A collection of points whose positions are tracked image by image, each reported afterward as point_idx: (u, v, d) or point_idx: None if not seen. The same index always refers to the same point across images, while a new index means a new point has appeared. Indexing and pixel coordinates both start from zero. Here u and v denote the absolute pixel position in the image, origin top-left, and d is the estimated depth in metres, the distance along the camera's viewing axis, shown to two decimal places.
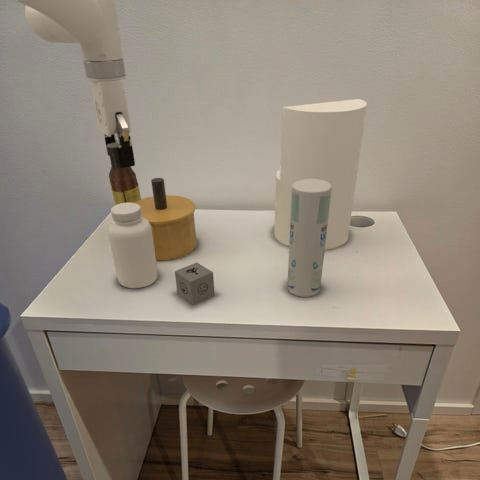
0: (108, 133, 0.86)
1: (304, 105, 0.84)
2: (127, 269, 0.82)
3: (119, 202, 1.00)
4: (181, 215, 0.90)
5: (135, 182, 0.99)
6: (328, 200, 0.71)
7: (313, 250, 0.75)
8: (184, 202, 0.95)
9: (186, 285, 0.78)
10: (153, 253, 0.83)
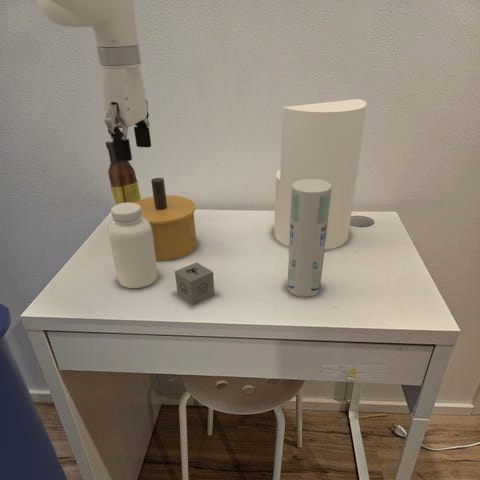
0: None
1: (304, 105, 0.84)
2: (127, 269, 0.82)
3: (118, 198, 1.00)
4: (181, 215, 0.90)
5: (134, 178, 1.00)
6: (328, 200, 0.71)
7: (313, 250, 0.75)
8: (184, 202, 0.95)
9: (186, 285, 0.78)
10: (153, 253, 0.83)
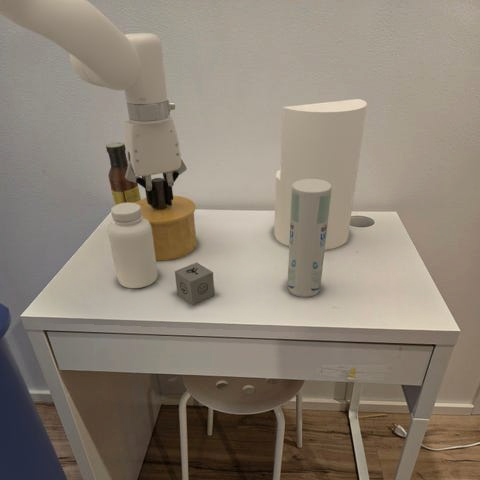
0: None
1: (304, 105, 0.84)
2: (127, 269, 0.82)
3: (119, 202, 1.00)
4: (181, 215, 0.90)
5: None
6: (328, 200, 0.71)
7: (313, 250, 0.75)
8: (184, 202, 0.95)
9: (186, 285, 0.78)
10: (153, 253, 0.83)
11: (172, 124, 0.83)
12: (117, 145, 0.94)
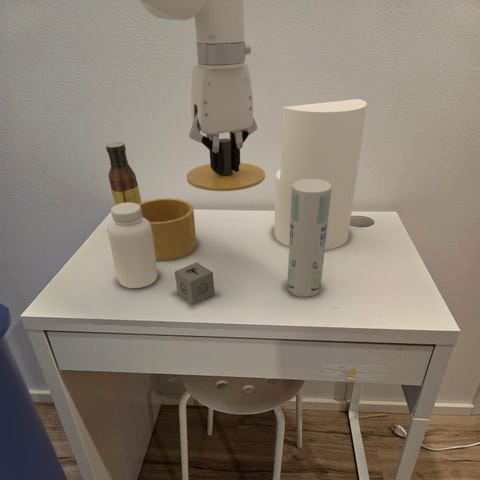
0: None
1: (304, 105, 0.84)
2: (127, 269, 0.82)
3: (119, 202, 1.00)
4: (252, 181, 0.77)
5: (135, 182, 0.99)
6: (328, 200, 0.71)
7: (313, 250, 0.75)
8: (250, 168, 0.83)
9: (186, 285, 0.78)
10: (153, 253, 0.83)
11: (247, 71, 0.71)
12: (117, 145, 0.94)
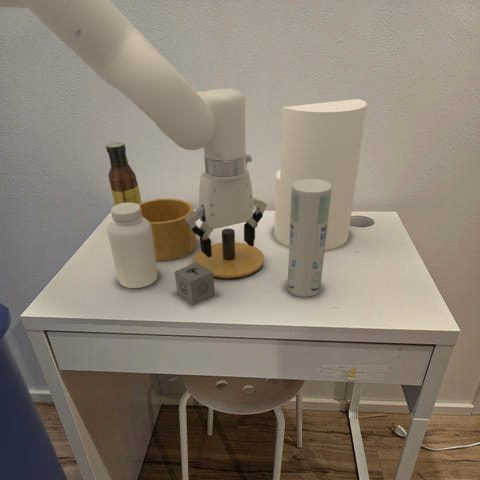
0: None
1: (304, 105, 0.84)
2: (127, 269, 0.82)
3: (119, 202, 1.00)
4: (252, 267, 0.88)
5: (135, 182, 0.99)
6: (328, 200, 0.71)
7: (313, 250, 0.75)
8: (251, 251, 0.93)
9: (186, 285, 0.78)
10: (153, 253, 0.83)
11: (248, 177, 0.81)
12: (117, 145, 0.94)
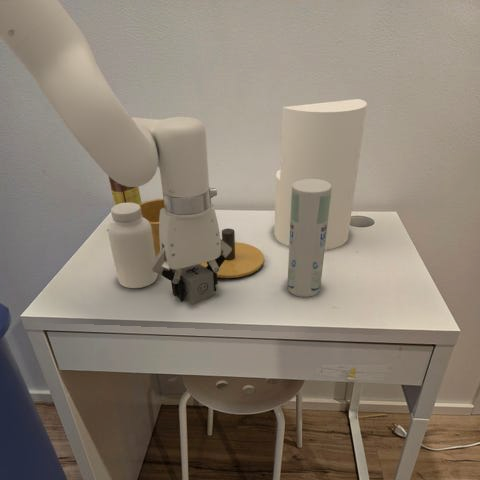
0: None
1: (304, 105, 0.84)
2: (127, 269, 0.82)
3: (119, 202, 1.00)
4: (252, 267, 0.88)
5: None
6: (328, 200, 0.71)
7: (313, 250, 0.75)
8: (251, 251, 0.93)
9: (186, 285, 0.78)
10: (153, 253, 0.83)
11: (213, 213, 0.73)
12: None
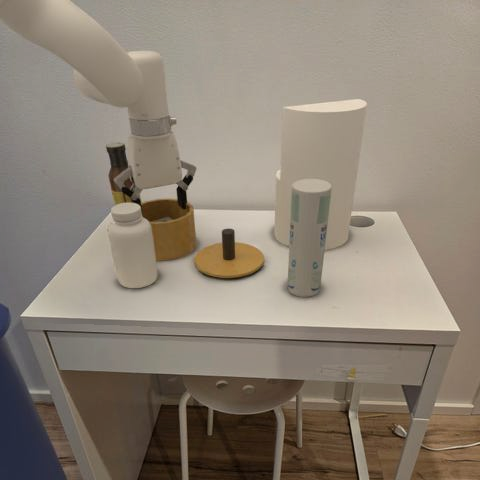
0: None
1: (304, 105, 0.84)
2: (127, 269, 0.82)
3: (119, 202, 1.00)
4: (252, 267, 0.88)
5: None
6: (328, 200, 0.71)
7: (313, 250, 0.75)
8: (251, 251, 0.93)
9: None
10: (153, 253, 0.83)
11: (173, 139, 0.85)
12: (117, 145, 0.94)
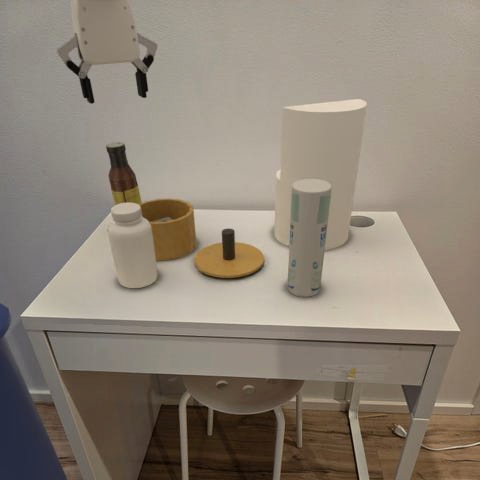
0: None
1: (304, 105, 0.84)
2: (127, 269, 0.82)
3: (119, 202, 1.00)
4: (252, 267, 0.88)
5: (135, 182, 0.99)
6: (328, 200, 0.71)
7: (313, 250, 0.75)
8: (251, 251, 0.93)
9: None
10: (153, 253, 0.83)
11: None
12: (117, 145, 0.94)
